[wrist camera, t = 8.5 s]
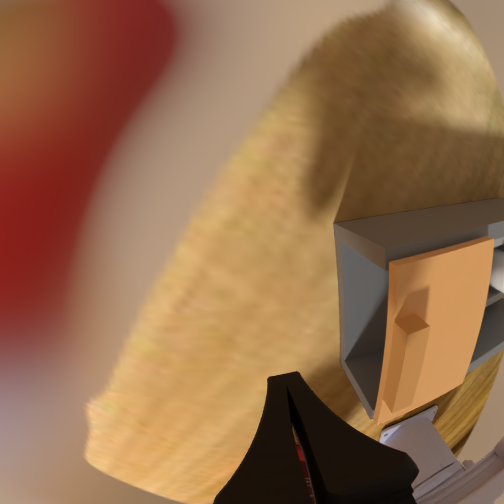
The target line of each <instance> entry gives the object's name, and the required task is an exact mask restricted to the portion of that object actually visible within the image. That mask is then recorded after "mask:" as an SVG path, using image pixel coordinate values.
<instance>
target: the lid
mask: <svg viewBox="0 0 504 504" xmlns="http://www.w3.org/2000/svg"><path fill="white" fill-rule="evenodd" d="M493 249H494V238H491V237H488V236H485V237H482V238H478V239H475V240H471V241H468V242H464V243H460V244H457V245H453V246H449V247H446V248H442V249H438V250H434V251H430V252H427V253H423V254H419V255H415V256H411V257H407V258H403V259H399V260H394V261H390V262H389V295H388V315H387V328H386V339H385V349H384V358H383V365H382V373H381V379H380V385H379V391H378V397H377V402H376V407H375V412H374V417H373V419H374V421H375V422H376V424H377V425H378V424H381V423H383V422H386V421H388V420H391V419H393V418H395V417H398V416H400V415H402V414H405V413H407V412H409V411H411V410H413V409H416V408H418V407H420V406H422V405H424V404H426V403H428V402H430V401H432V400H434V399H436V398H438V397H439V396H441V395H443V394H445V393H447V392H448V391H450V390H452V389H454V388H455V387H457V386H459V385H460V384H462V383H463V381H464V378H465V375H466V373H467V370H468V367H469V364H470V361H471V358H472V355H473V352H474V349H475V345H476V342H477V338H478V335H479V331H480V327H481V323H482V319H483V315H484V310H485V305H486V300H487V295H488V289H489V283H490V276H491V268H492V260H493Z"/></svg>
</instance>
